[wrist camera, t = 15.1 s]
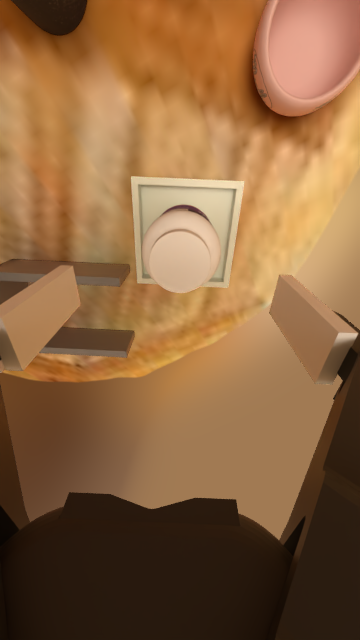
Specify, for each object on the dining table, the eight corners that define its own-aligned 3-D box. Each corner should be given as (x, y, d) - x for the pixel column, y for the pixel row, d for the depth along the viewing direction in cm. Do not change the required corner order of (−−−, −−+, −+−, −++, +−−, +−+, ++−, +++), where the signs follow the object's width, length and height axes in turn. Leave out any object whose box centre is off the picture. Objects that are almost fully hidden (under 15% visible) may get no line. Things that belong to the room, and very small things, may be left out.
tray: (140, 277, 37) (137, 283, 35) (135, 177, 30) (130, 176, 28) (225, 281, 37) (228, 287, 34) (240, 181, 30) (244, 181, 28)
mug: (353, 85, 25) (395, 59, 20) (265, 144, 28) (282, 134, 23) (325, -78, 20) (372, -168, 15) (221, 13, 23) (231, -36, 18)
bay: (36, 331, 43) (-7, 372, 33) (12, 259, 36) (-50, 284, 27) (134, 336, 42) (119, 379, 33) (129, 264, 36) (107, 292, 26)
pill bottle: (217, 255, 34) (234, 294, 22) (165, 269, 35) (153, 314, 23) (204, 194, 30) (216, 201, 18) (146, 213, 32) (120, 231, 19)
